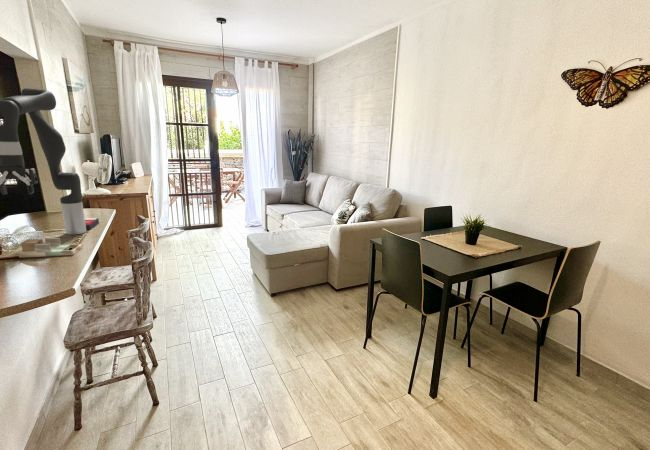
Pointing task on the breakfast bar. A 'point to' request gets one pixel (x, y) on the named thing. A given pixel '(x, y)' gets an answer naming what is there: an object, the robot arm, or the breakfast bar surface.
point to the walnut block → (30, 244)
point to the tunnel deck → (51, 249)
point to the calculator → (91, 223)
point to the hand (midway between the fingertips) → (17, 194)
